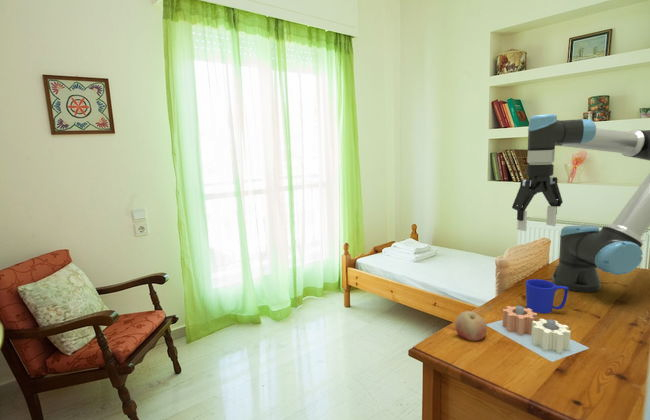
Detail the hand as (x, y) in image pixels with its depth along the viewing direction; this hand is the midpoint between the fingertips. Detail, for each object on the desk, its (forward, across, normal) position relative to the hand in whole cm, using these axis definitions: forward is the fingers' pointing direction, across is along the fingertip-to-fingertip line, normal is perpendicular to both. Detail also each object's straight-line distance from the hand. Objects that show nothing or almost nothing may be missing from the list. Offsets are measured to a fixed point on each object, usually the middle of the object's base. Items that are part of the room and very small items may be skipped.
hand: (536, 227), depth 118 cm
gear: (+25, +21, +22) cm, 39 cm away
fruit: (+27, +36, +9) cm, 46 cm away
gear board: (+27, +21, +17) cm, 38 cm away
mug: (+27, +3, +7) cm, 28 cm away
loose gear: (+25, +21, +12) cm, 35 cm away
